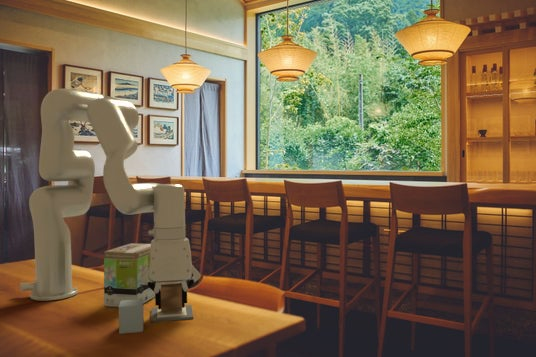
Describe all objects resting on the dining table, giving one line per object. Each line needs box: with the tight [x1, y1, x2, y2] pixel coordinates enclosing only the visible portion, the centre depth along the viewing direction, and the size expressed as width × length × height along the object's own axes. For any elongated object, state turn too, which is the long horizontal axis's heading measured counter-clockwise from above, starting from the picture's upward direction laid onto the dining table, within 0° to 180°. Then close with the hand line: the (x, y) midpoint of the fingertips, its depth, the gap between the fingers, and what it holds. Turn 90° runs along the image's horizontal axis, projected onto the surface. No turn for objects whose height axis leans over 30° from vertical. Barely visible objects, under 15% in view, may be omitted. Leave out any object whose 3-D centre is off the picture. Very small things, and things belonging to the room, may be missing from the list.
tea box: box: [103, 242, 161, 308], centre depth 132 cm, size 15×10×15 cm, turn 168°
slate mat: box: [149, 304, 194, 323], centre depth 119 cm, size 10×10×1 cm
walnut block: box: [161, 281, 182, 312], centre depth 119 cm, size 5×5×6 cm
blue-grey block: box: [118, 299, 145, 334], centre depth 108 cm, size 5×5×6 cm
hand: (171, 306), depth 119 cm, fingers closed on walnut block, 5 cm apart
